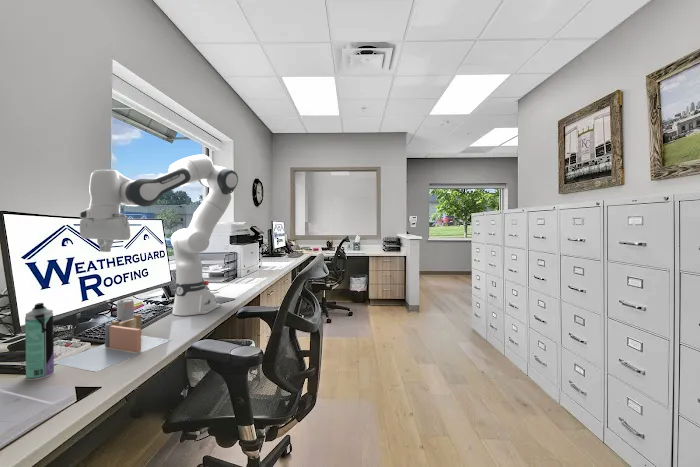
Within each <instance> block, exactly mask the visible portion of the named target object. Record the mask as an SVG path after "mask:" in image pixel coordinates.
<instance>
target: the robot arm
mask: <svg viewBox="0 0 700 467" xmlns="http://www.w3.org/2000/svg"><path fill="white" fill-rule="evenodd" d="M89 178H90V179H89V192H88V193H89V196H90V202H89V207H88V208H86V209H84V210H83V211H81V212H79V214H78V216H79V218H80V221H79V235H80V237H81V239H86V240H87V239H88V240H91V239H92V240H96V241H97V242H96V243H97V245H98V246H99V251H100V252H101V253H110V252H111V251H112V248H111V247H112V246H113V244H114V240H115V241H127V240H130V238H131V228H130V227H131V226H130V222H129V219H128V217H127V216H126V215H125V214H124V213H121V205H124V206H127V207H144V208H145V207H146V208H147V207H150V206H152V205H155V204H156V203H157V202H158V201H159V200H160V199H161V197H162V196H164V195H165V194H167V193H168V192H170V191H172V190H175V189H176V188H180V187H184V186H188V185H191V184H195V183H196V182H198V183H199V184H200V185H202V186H203V187H206V188H207V187H208V188H209V192H208V194H207V196H206V197H205V198H204V199H203V201H202V202H201V203H200V205H199V206H198V207H197V208H196V210H195V211H194V212H193V215H192V219H191V221H190V223H189V225H188V227H187V228H181V229H178V230H177V231H175V232H173V233H172V235H171V237H170V242H171V245H172V249H173V250H172V251H173V255H174V260H175V261H174V262H175V270H176V272H175V274H176V275H175V283H174V290H175V294H174V301H173V307H172V309H173V310H172V313H171V314H172V315H175V316H183V317H184V316H193V315H202V314H203V315H205V314H208V313H210V312H212V311H214V310H215V309H218V308H220V307H221V306H222V305H221V303H219V302H216V296H215V294H214V293H212V292H211V291H210V290H208V289H207V288H206V286H209V284H210V281H209V280H203V263H202V261H201V260H202V259H201V257H200V253H202V252H204V251H206V250H207V249H208V248H209V246H210V240H211V239H210V238H211V237H212V234H213V232H214V229H215V228H216V225H217V224H218V222H219V221H220V220H221V218H222V216H224V214H225V212H226V210H227V209H228V208H229V206H230V202H231V201H232V195H231V194H232V193H233V192H234V190H235V189H236V188H237V186H238V184H239V176H238V173H237V172H236V171H234V170H233V169H231V168H228V167H223V166H221V165H220V166H218V165H214V162H213V160H212V158H210V157H209V156H208V155H205V154H195V155H190V156H187V157H184V158H181V159H178V160H177V161H175V162H173V163H172V164H170V165H169V168H168V173H165V174H163V175H160V176H158V177H156V178H139V179H135V180H134V179H131V178H129V177H126V176H125V175H123V174H122V173H120V172H119V171H118V170H116V169H113V168H109V169H108V168H106V169H97V170H93V171H92V173H91V175H90V177H89Z"/></svg>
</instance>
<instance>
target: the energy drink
mask: <svg viewBox="0 0 700 467" xmlns="http://www.w3.org/2000/svg"><path fill="white" fill-rule="evenodd" d="M134 315H135V301H134V299H133V298H128V299H127V298H124V299H119V300H118V301H117V302H116V321H119V323H120V322H123V321H126V320H130V319H133V318H134Z"/></svg>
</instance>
